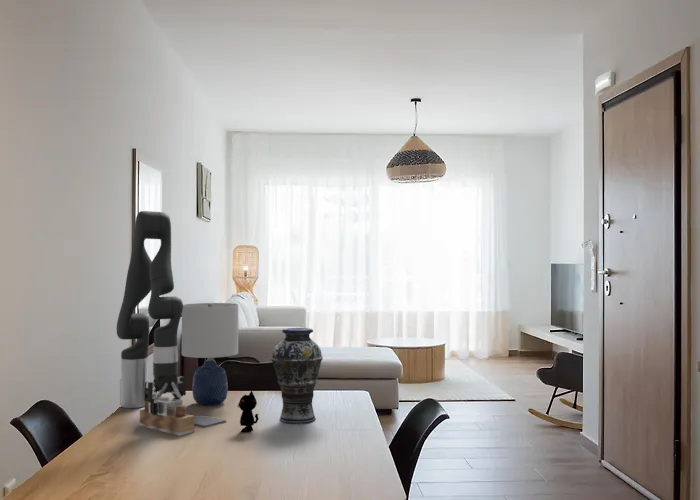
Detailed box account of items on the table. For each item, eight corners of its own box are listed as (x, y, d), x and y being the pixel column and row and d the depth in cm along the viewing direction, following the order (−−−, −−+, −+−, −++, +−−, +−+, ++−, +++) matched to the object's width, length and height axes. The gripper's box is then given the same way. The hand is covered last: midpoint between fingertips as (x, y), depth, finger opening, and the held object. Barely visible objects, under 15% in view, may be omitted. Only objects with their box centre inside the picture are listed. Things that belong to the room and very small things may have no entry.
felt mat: (180, 421, 227) (180, 420, 227) (201, 416, 234) (201, 415, 234) (204, 427, 220) (204, 425, 220) (226, 422, 227) (226, 420, 227)
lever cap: (148, 412, 219) (148, 397, 219) (164, 409, 223) (164, 394, 223) (166, 416, 213) (166, 401, 213) (182, 412, 218) (182, 398, 218)
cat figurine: (241, 427, 219) (241, 389, 220) (262, 428, 218) (262, 390, 218) (233, 433, 213) (233, 393, 213) (254, 434, 211) (254, 394, 211)
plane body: (139, 425, 222) (139, 391, 222) (154, 422, 226) (154, 388, 226) (179, 435, 210) (179, 399, 210) (194, 432, 214) (194, 396, 214)
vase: (261, 423, 225) (261, 330, 225) (286, 412, 241) (286, 325, 241) (308, 428, 219) (308, 332, 219) (330, 416, 235) (330, 327, 235)
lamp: (232, 410, 245) (232, 305, 245) (175, 409, 245) (175, 305, 245) (242, 398, 265) (242, 301, 265) (189, 398, 265) (189, 301, 266)
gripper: (176, 356, 226) (176, 407, 226) (138, 362, 215) (138, 414, 215) (191, 358, 222) (191, 410, 222) (153, 364, 210) (153, 418, 210)
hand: (165, 412), depth 218 cm, fingers open, 8 cm apart
